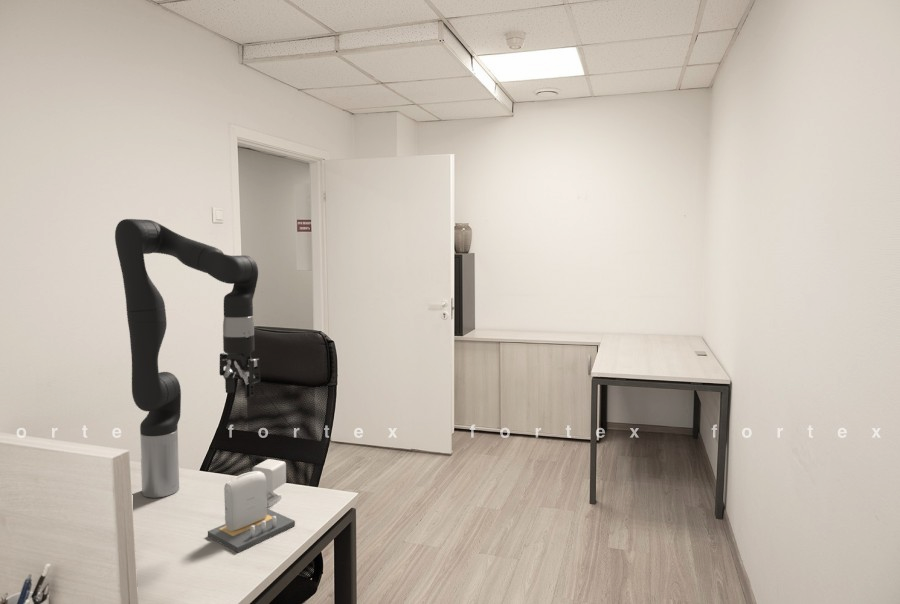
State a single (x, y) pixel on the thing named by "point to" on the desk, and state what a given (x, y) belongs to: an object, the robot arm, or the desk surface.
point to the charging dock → (252, 531)
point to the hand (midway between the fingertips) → (239, 395)
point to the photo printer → (245, 500)
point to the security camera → (272, 478)
